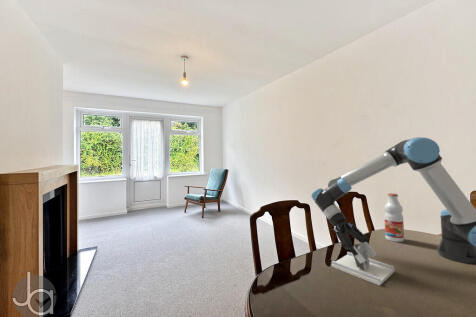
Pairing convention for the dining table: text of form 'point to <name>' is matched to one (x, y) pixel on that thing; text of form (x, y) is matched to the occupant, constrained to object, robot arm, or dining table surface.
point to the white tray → (373, 274)
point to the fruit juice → (394, 219)
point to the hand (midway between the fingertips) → (368, 259)
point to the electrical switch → (363, 252)
